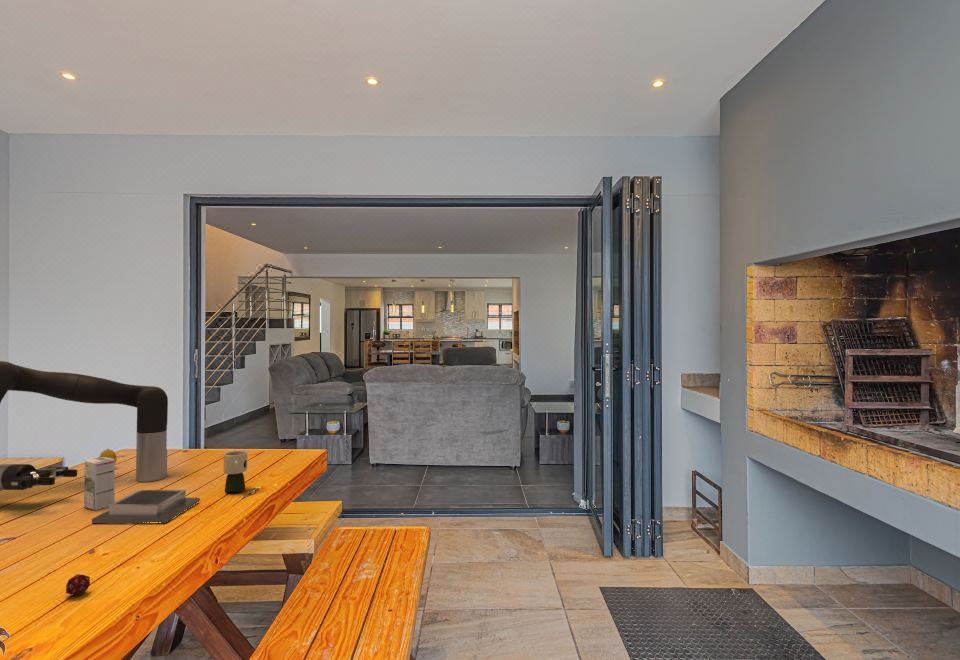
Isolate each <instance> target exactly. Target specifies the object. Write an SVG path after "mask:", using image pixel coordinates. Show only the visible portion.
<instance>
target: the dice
mask: <svg viewBox="0 0 960 660" xmlns="http://www.w3.org/2000/svg"><path fill="white" fill-rule="evenodd" d="M90 585H91V578H90V576H88V575H85V574H81V573H80V574H78V573H77V574H75V575H74V576H73V577H71V578H69V579H68V581H67V583H66V585H65V587H66V588H65V591H66V592H65V593H66V594H68V595H72V594H73V595H72V596H79V597H80V596H81V595H82V594H83V593H85V592H86V591H88V588H89V587H90Z"/></svg>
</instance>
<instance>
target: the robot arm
mask: <svg viewBox="0 0 960 660" xmlns="http://www.w3.org/2000/svg"><path fill="white" fill-rule="evenodd" d="M8 391H14V392H27V393H36V394H41V395H45V396H48V397H51V398H55V399H58V400H59V399H60V400H65V401H71V402H77V403H82V404H83V403H84V404H100V405H101V404H103V405H105V404H106V405H107V404H112V405H115V404H118V405H123V406H128V407H129V406H130V407H134V408H136V445H135V446H136V454H135V456H136V457H135V458H136V459H135V481H136V482H140V483H145V482H155V481H159V480H164V479H165V478H166V477H167V475H168V449H167V444H168V443H167V441H168V439H167V438H168V437H167V435H168V430H167V428H168V415H169V414H168V412H169V411H168V410H169V407H168V406H169V404H168V403H169V401H168V395H167V393H166V391H165V390H164V389H162V387H158V386H154V385H153V386H152V385H149V386H148V385H139V384H138V385H137V384H136V385H135V384H127V383H123V382H119V381H114V380H111V379H107V378H103V377H97V376H91V375H87V374H86V375H85V374H82V373H81V374H79V373H72V372H63V371H61V372H60V371H59V372H58V371H46V370H45V371H44V370H38V369H34V368H33V369H32V368H30V367H29V368H28V367H24V366H21V365H18V364H14V363H11V362H9V361H4V360H0V404H1V403H2V401H3V399H4V397H5V396H6V394H7V393H8ZM77 476H78V469H74V468H73V469H69V466H48V467H47V468H36V467H35V466H34V465H32V464H31V463H19V464H18V463H16V464H15V463H5V464H0V491H23V490H24V491H25V490H26V489H31V488H33V487H39V486H53V485H55V483H56V479H58V478H77Z"/></svg>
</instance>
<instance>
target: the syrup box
mask: <svg viewBox="0 0 960 660" xmlns="http://www.w3.org/2000/svg"><path fill="white" fill-rule="evenodd" d="M115 466H116V463H115V459H112V458H107V457H99V456H98V457H94V458H91V459H87V460H84V486H83V487H84V494H83V499H84V506H83V507H84V509H87V508H88V510H92V511H99V510H98V509H100V510H102V509H101V508H104V509H106V508H105V507H107V508H109V507H108V506H110V504H112V503H114V502H116V501H115V499H116V498H115V495H116V493H115V492H116V491H115V488H116V486H115V483H116V482H115V480H116V479H115V476H116V475H115V472H116V471H115V470H116V469H115Z"/></svg>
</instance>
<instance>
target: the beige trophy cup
mask: <svg viewBox="0 0 960 660" xmlns="http://www.w3.org/2000/svg"><path fill="white" fill-rule="evenodd" d="M247 470H248V451H246V450H233V451H226V452H225V453H224V454H223V473H224V474H227V475H226V479H225V483H224V484H225V486H224V492H225V493H234V492H236V493H237V492H239V493H240V492H243V490H244V491H245V490H246V483H245V475H244V473H245V472H247Z"/></svg>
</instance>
